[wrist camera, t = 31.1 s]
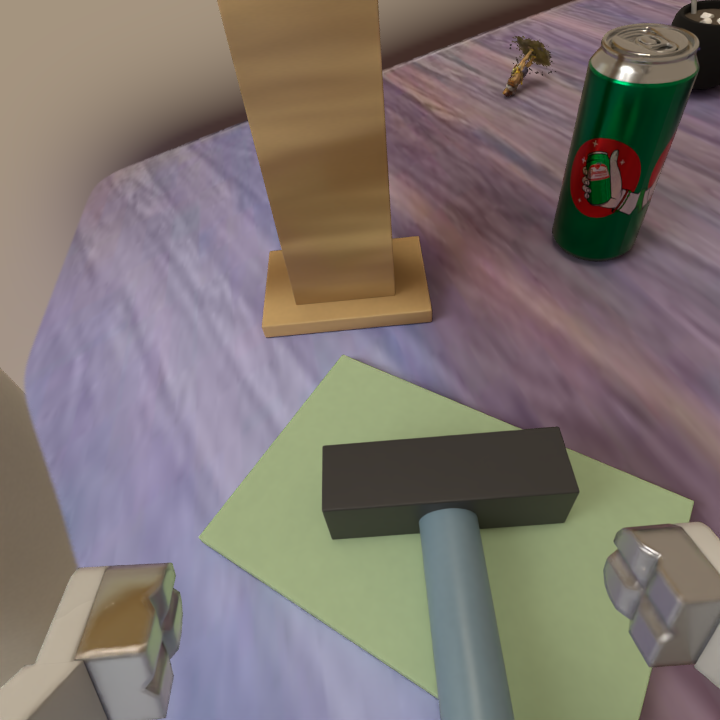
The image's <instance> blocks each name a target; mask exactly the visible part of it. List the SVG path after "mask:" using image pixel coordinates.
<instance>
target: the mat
mask: <svg viewBox="0 0 720 720" xmlns="http://www.w3.org/2000/svg"><path fill="white" fill-rule="evenodd" d="M510 430H522V429H520V428H517V427H515V426H513V425H510V424H508V423H505V422H503V421H501V420H498V419H496V418H494V417H491V416H489V415H486V414H484V413H482V412H479V411H477V410H474V409H472V408H470V407H467V406H465V405H462V404H460V403H458V402H455V401H453V400H450V399H448V398H446V397H443V396H441V395H438V394H436V393H434V392H431V391H429V390H426V389H424V388H422V387H419V386H417V385H414V384H412V383H410V382H407V381H405V380H402V379H400V378H398V377H395V376H393V375H390V374H388V373H386V372H383V371H381V370H379V369H376V368H374V367H371V366H369V365H367V364H364V363H362V362H359V361H357V360H355V359H352V358H350V357H347V356H345V355H342V356H341V357H340V359H339V360H338V361H337V362H336V364H335V365H334V366H333V367H332V369H331V370H330V371H329V373H328V374H327V375H326V376H325V378H324V379H323V380H322V381H321V383H320V384H319V385H318V386H317V388H316V389H315V390H314V392H313V393H312V394H311V395H310V397H309V398H308V399H307V400H306V402H305V403H304V404H303V405H302V407H301V408H300V409H299V411H298V412H297V413H296V414H295V416H294V417H293V418H292V419H291V421H290V422H289V423H288V425H287V426H286V427H285V428H284V430H283V431H282V432H281V433H280V435H279V436H278V437H277V438H276V440H275V441H274V442H273V444H272V445H271V446H270V447H269V449H268V450H267V451H266V452H265V454H264V455H263V456H262V457H261V459H260V460H259V461H258V463H257V464H256V465H255V466H254V468H253V469H252V470H251V471H250V473H249V474H248V475H247V476H246V478H245V479H244V480H243V482H242V483H241V484H240V485H239V487H238V488H237V489H236V490H235V492H234V493H233V494H232V495H231V497H230V498H229V499H228V501H227V502H226V503H225V504H224V506H223V507H222V508H221V509H220V511H219V512H218V513H217V514H216V516H215V517H214V518H213V520H212V521H211V522H210V523H209V525H208V526H207V527H206V528H205V530H204V531H203V532H202V533H201V535H200V536H199V539H200V540H201V541H202V542H203V543H204V544H206V545H207V546H209V547H210V548H212V549H213V550H215V551H216V552H218V553H219V554H221V555H222V556H224V557H225V558H227V559H228V560H230V561H231V562H233V563H234V564H236V565H237V566H239V567H240V568H242V569H244V570H245V571H247V572H248V573H250V574H251V575H253V576H254V577H256V578H257V579H259V580H260V581H262V582H263V583H265V584H266V585H268V586H269V587H271V588H272V589H274V590H275V591H277V592H278V593H280V594H281V595H283V596H284V597H286V598H287V599H289V600H290V601H292V602H293V603H295V604H296V605H298V606H299V607H301V608H302V609H304V610H305V611H307V612H308V613H310V614H311V615H313V616H314V617H316V618H317V619H319V620H320V621H322V622H323V623H325V624H326V625H328V626H329V627H331V628H332V629H334V630H335V631H337V632H338V633H340V634H341V635H343V636H344V637H346V638H347V639H349V640H350V641H352V642H353V643H355V644H356V645H358V646H359V647H361V648H362V649H364V650H365V651H367V652H368V653H370V654H371V655H373V656H374V657H376V658H377V659H379V660H380V661H382V662H383V663H385V664H386V665H388V666H389V667H391V668H392V669H394V670H395V671H397V672H398V673H400V674H401V675H403V676H404V677H406V678H407V679H409V680H410V681H412V682H413V683H415V684H416V685H418V686H419V687H421V688H422V689H424V690H425V691H427V692H428V693H430V694H431V695H433V696H434V697H436V698H437V699H438V691H437V682H436V673H435V664H434V654H433V645H432V636H431V627H430V618H429V609H428V600H427V591H426V582H425V573H424V564H423V555H422V546H421V537H420V533H418V534H404V535H390V536H376V537H362V538H348V539H334V540H333V539H332V538H331V535H330V532H329V530H328V527H327V524H326V521H325V518H324V515H323V513H322V447H323V446H324V445H337V444H349V443H361V442H374V441H386V440H399V439H411V438H423V437H436V436H448V435H461V434H473V433H485V432H498V431H510ZM566 450H567V453H568V456H569V459H570V463H571V466H572V469H573V472H574V475H575V478H576V481H577V484H578V487H579V490H580V493H579V495H578V497H577V499H576V501H575V503H574V505H573V507H572V509H571V511H570V513H569V515H568V517H567V519H566V521H565V523H557V524H543V525H529V526H515V527H501V528H487V529H480V534H481V540H482V545H483V550H484V556H485V561H486V567H487V572H488V578H489V583H490V588H491V594H492V599H493V605H494V610H495V616H496V621H497V626H498V632H499V637H500V643H501V648H502V654H503V659H504V664H505V670H506V675H507V681H508V686H509V692H510V697H511V702H512V708H513V713H514V719H515V720H639V718H640V714H641V710H642V706H643V702H644V698H645V694H646V690H647V686H648V682H649V678H650V674H651V670H652V667H648V665H647V663H646V662H645V660H644V658H643V656H642V655H641V653H640V651H639V649H638V648H637V646H636V644H635V643H634V641H633V639H632V637H631V636H630V634H629V632H628V631H629V622H630V619H628V618H627V617H625V616H624V615H623V614H621V613H620V612H619V611H617V610H616V609H615V607H614V606H613V604H612V602H611V600H610V598H609V597H608V594H607V591H606V588H605V585H604V575H603V569H604V566H605V562H606V559H607V557H608V556H610V555H611V554H612V553H613V552H615V551H616V550H617V549H618V548H617V547H616V545H615V544H614V542H613V541H614V538H615V536H616V533H617V532H618V531H619V530H620V529H622V528H625V527H636V526H647V525H658V524H669V523H670V524H676V523H689V520H690V516H691V512H692V508H693V505H694V501H692V500H690V499H688V498H685V497H683V496H680V495H678V494H676V493H673V492H671V491H668V490H666V489H664V488H661V487H659V486H656V485H654V484H652V483H649V482H647V481H644V480H642V479H640V478H637V477H635V476H632V475H630V474H628V473H625V472H623V471H620V470H618V469H616V468H613V467H611V466H609V465H606V464H604V463H601V462H599V461H597V460H594V459H592V458H589V457H587V456H585V455H582V454H580V453H577V452H575V451H573V450H570V449H568V448H566Z"/></svg>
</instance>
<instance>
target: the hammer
mask: <svg viewBox="0 0 720 720" xmlns="http://www.w3.org/2000/svg"><path fill="white" fill-rule="evenodd" d="M579 493H580V490H579V487H578V484H577V481H576V478H575V475H574V472H573V469H572V466H571V463H570V459H569V456H568V453H567V450H566V447H565V444H564V441H563V438H562V435H561V432H560V428H559V427H548V428H535V429H523V430H510V431H498V432H485V433H473V434H461V435H448V436H436V437H423V438H411V439H399V440H386V441H374V442H361V443H349V444H337V445H324V446H323V447H322V513H323V515H324V518H325V521H326V524H327V527H328V530H329V532H330V535H331V538H332V539H333V540H334V539H348V538H362V537H376V536H390V535H404V534H418V533H420V537H421V546H422V555H423V564H424V573H425V582H426V591H427V600H428V609H429V618H430V627H431V636H432V645H433V654H434V664H435V673H436V682H437V691H438V700H439V709H440V718H441V720H515V719H514V713H513V708H512V702H511V697H510V692H509V686H508V681H507V675H506V670H505V664H504V659H503V654H502V648H501V643H500V637H499V632H498V626H497V621H496V616H495V610H494V605H493V599H492V594H491V588H490V583H489V578H488V572H487V567H486V561H485V556H484V550H483V545H482V540H481V534H480V529H487V528H501V527H515V526H529V525H543V524H557V523H565V521H566V519H567V517H568V515H569V513H570V511H571V509H572V507H573V505H574V503H575V501H576V499H577V497H578V495H579Z"/></svg>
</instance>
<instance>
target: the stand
mask: <svg viewBox="0 0 720 720" xmlns="http://www.w3.org/2000/svg"><path fill="white" fill-rule="evenodd" d="M217 2H218V6H219V10H220V14H221V17H222V21H223V25H224V29H225V33H226V36H227V41H228V44H229V48H230V52H231V56H232V60H233V64H234V67H235V71H236V75H237V79H238V83H239V87H240V91H241V95H242V98H243V102H244V106H245V110H246V114H247V118H248V122H249V125H250V129H251V133H252V137H253V141H254V145H255V149H256V152H257V156H258V160H259V164H260V168H261V172H262V176H263V179H264V183H265V187H266V191H267V195H268V199H269V202H270V206H271V210H272V214H273V218H274V222H275V226H276V229H277V233H278V237H279V241H280V245H281V249H282V250H278V251H270V253H269V263H268V272H267V282H266V292H265V301H264V311H263V320H262V329H263V332H264V335H265V337H277V336H287V335H298V334H308V333H319V332H329V331H340V330H350V329H361V328H371V327H382V326H392V325H403V324H413V323H424V322H431V321H432V307H431V302H430V296H429V290H428V285H427V279H426V274H425V268H424V263H423V257H422V251H421V246H420V240H419V237H418V236H414V237H405V238H395V239H392V228H391V212H390V195H389V178H388V161H387V145H386V128H385V111H384V94H383V77H382V61H381V44H380V28H379V11H378V0H217Z"/></svg>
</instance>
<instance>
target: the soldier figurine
mask: <svg viewBox="0 0 720 720" xmlns="http://www.w3.org/2000/svg"><path fill="white" fill-rule="evenodd" d="M523 37H524V36H522V37H520V36H518V37H517V36H515V38H517V41H515V42H514V41H512V42H514V43H516V42H517V43H518V44H519V46H518V45H517V46H518V47H519V51H520V49H521V50H522V51H523V54H524V56H525V57H524V58H523V59H522V61H521V62H520V64H518V66H517V64H516V65H515V66H514V68H513V70H512V72H511V73H512V75H511V77H512V76H513V77H512V78H511V77H510V78H511V79H510V78H509V80H508V82H507V85H506V88H505V89H504V92H503V94H504V95H505V96H506V97H509V96H510V95H513V94H514V93H515V91H516V90H517V87H518V85H519V84H520V83H521V85H522V81H523V78H524V77H525V76H526V74H527V72H528V67H530V66H531V64H533V63H532V62H534V63H535V62H536V64H537V65H538V64H542V65H543V66H544V65H545V66H546V65H547V66H550V65H551V64H550V62H549V59H550V58H551V56H550V55H551V54H549V53H551V52H549V51H548V50H546V49H545V48H544V47H545V46H544V45H543V44H542V42H541V43H540V42H539V41H538V40H537V41H535V40H534V41H531V40H532V39H522V38H523ZM512 38H514V37H512ZM524 38H525V37H524ZM511 45H512V44H510V46H511ZM520 47H521V48H520ZM548 47H549V46H548ZM510 49H511V47H510ZM521 56H522V55H521ZM519 57H520V56H519ZM520 58H522V57H520ZM529 59H530V61H529ZM526 60H528V61H529V62H528V63H527V64H526V65H525V61H526ZM516 61H517V63H518V59H516ZM551 62H553V61H552V60H551ZM513 64H514V63H513ZM516 66H517V68H515V67H516ZM547 66H546V67H547ZM529 69H530V68H529ZM530 70H531V69H530ZM531 71H532V70H531ZM555 72H556V71H555ZM535 73H536V72H535ZM537 73H539V72H537ZM537 73H536V74H537ZM542 73H543V72H542ZM549 73H552V71H551V72H549ZM549 73H548V74H549ZM529 74H530V73H529ZM542 76H543V74H542Z"/></svg>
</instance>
